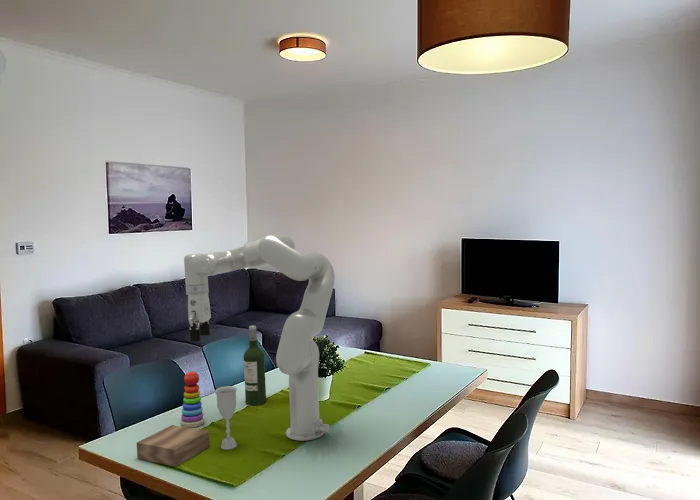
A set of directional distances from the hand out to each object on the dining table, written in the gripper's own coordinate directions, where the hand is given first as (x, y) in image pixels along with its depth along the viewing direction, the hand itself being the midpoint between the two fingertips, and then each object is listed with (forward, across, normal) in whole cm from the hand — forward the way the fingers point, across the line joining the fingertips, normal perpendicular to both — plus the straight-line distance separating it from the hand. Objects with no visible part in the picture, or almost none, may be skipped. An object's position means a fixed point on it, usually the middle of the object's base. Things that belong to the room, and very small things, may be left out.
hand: (200, 338), depth 190 cm
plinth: (+30, -24, +2) cm, 39 cm away
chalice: (+31, -19, -14) cm, 39 cm away
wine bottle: (+31, +22, -12) cm, 40 cm away
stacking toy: (+31, 0, +5) cm, 31 cm away
